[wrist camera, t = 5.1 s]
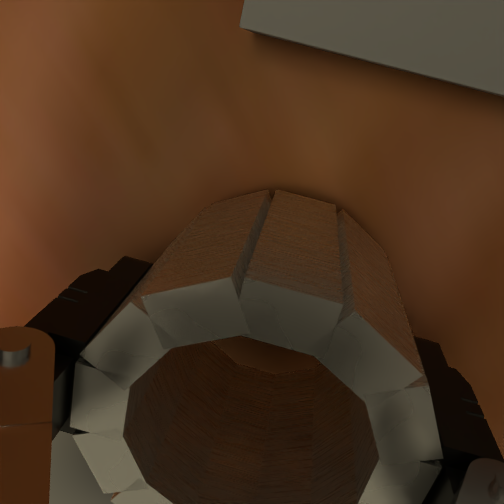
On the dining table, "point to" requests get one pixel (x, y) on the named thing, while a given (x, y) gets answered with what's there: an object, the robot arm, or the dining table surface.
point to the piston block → (396, 34)
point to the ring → (254, 380)
